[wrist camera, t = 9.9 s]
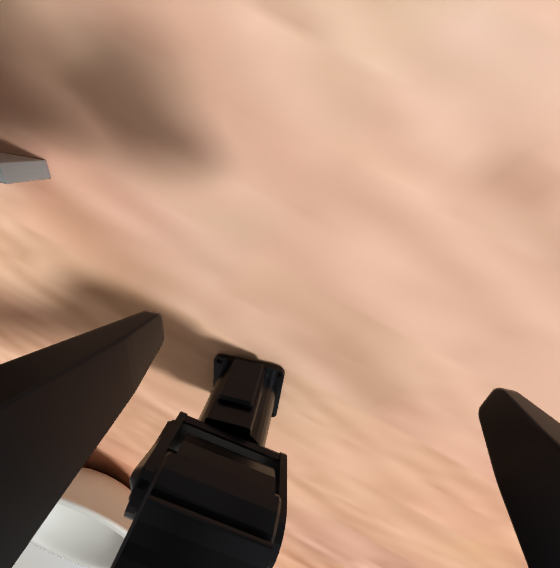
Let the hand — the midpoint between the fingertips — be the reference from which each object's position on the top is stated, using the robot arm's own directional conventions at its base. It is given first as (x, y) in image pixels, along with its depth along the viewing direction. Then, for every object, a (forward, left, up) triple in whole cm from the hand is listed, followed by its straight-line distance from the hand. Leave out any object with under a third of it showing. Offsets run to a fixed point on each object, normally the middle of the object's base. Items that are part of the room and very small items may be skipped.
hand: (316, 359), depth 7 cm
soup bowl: (-46, +25, -12) cm, 54 cm away
